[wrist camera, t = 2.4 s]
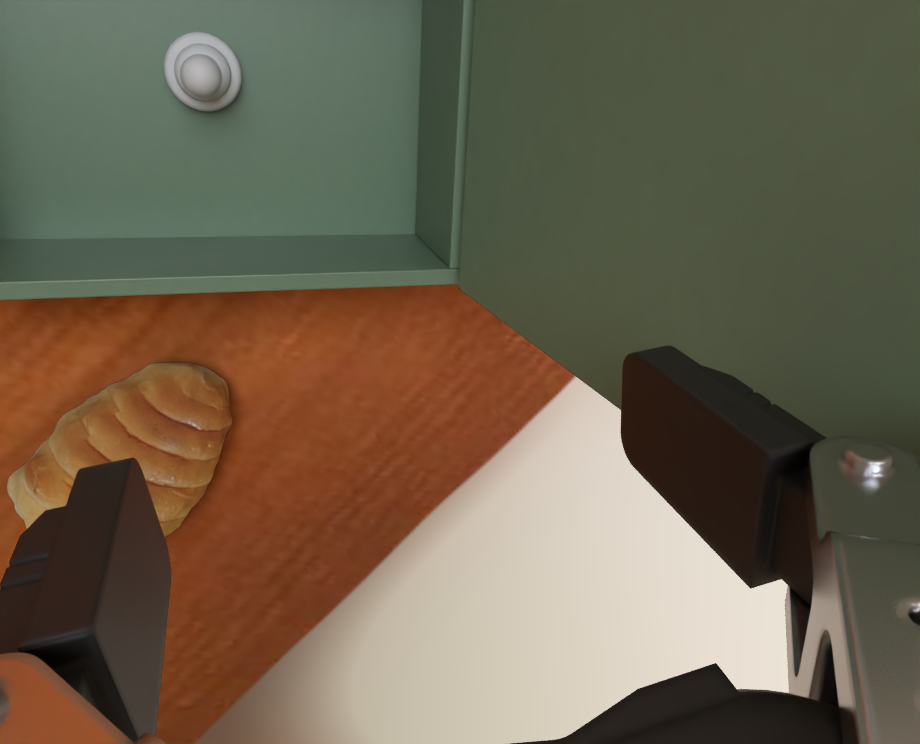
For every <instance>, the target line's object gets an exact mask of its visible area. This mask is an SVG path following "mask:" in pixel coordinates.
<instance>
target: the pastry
mask: <svg viewBox="0 0 920 744" xmlns="http://www.w3.org/2000/svg"><path fill="white" fill-rule="evenodd" d="M231 424H232V416H231V412H230V407H229V392H228V386H227V384H226V382H225V381H224V380H223V379H222V378H221V377H219V376H218V375H217V374H216V373H214V372H213V371H211V370H209V369H208V368H206V367H203V366H200V365H196V364H190V363H182V362H168V363H152V364H149V365H147V366H146V367H144V368H143V369H142V370H140V371H139V372H136V373H133V374H132V375H130V376H129V377H128V378H127V379H125V380H122V381H120V382H116V383H113V384H110V385H108V386H107V387H106V388H105V389H104V390H102V391H101V392H99V393H98V394H97V395H94V396H91V397H89V398H87V400H86V401H85V402H84V403H83V404H81V405H79V406H78V407H76V408H74V409H72V410H70V411H68V412H67V413H65V414H64V415H63V416H62V417H61V418H60V419H59V420H58V422H57V425H56V428H55V430H54V433H53V434H52V435H51V436H49V437H48V438H47V439H46V440H45V441H44V442H43V443H42V444H41V445H40V447H39V448H38V449H37V450H36V451H35V453H34V454H33V455H32V457H31V458H30V459H29V460H28V461H27V462H26V464H25V465H24V466H22V467H21V468H19V469H18V470H16V471H15V472H14V473H13V474H12V475H11V476H10V477H9V479H8V483H7V490H8V494H9V496H10V497H11V499H12V500H13V501H14V504H15V511H16V512H17V513H18V514H19V516H20V517H21V518H22V519H24V521H25V525H26V528H27V529H28V528H29V527H30V525H31V524H32V523H33V522H34V521H35V520H36V519H37V518H38V517H39V516H40V515H41V514H42V513H43V512H44V511H45V510H49V509H54V508H58V507H63V506H66V504H67V501H68V498H69V495H70V492H71V489H72V486H73V483H74V480H75V477H76V474H77V472H78V470H79V469H81V468H85V467H90V466H94V465H99V464H104V463H108V462H113V461H118V460H123V459H127V458H132V457H134V458H135V459H136V460H137V461H138V463H139V464H140V467H141V469H142V472H143V474H144V477H145V480H146V483H147V486H148V489H149V492H150V495H151V498H152V501H153V504H154V507H155V510H156V513H157V516H158V519H159V522H160V525H161V528H162V531H163V534H164V537H165V536H167V535H169V534H170V533H172V532H173V531H174V530H175V529H177V528H178V527H179V526H180V525H181V523H182V522H183V520H184V519H185V517H186V516H187V514H188V513H189V511H190V510H191V508H192V507H193V506H194V505H195V504H196V503H197V502H198V501H199V500H200V499H201V498H202V496H203V495H204V494H205V491H206V487H207V485H208V484H209V483H210V481H211V479H212V476H213V473H214V470H215V466H216V464H217V463H218V461H219V458H220V453H221V449H222V445H223V443H224V439H225V435H226V433H227V431H228V430H229V428H230V427H231Z"/></svg>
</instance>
